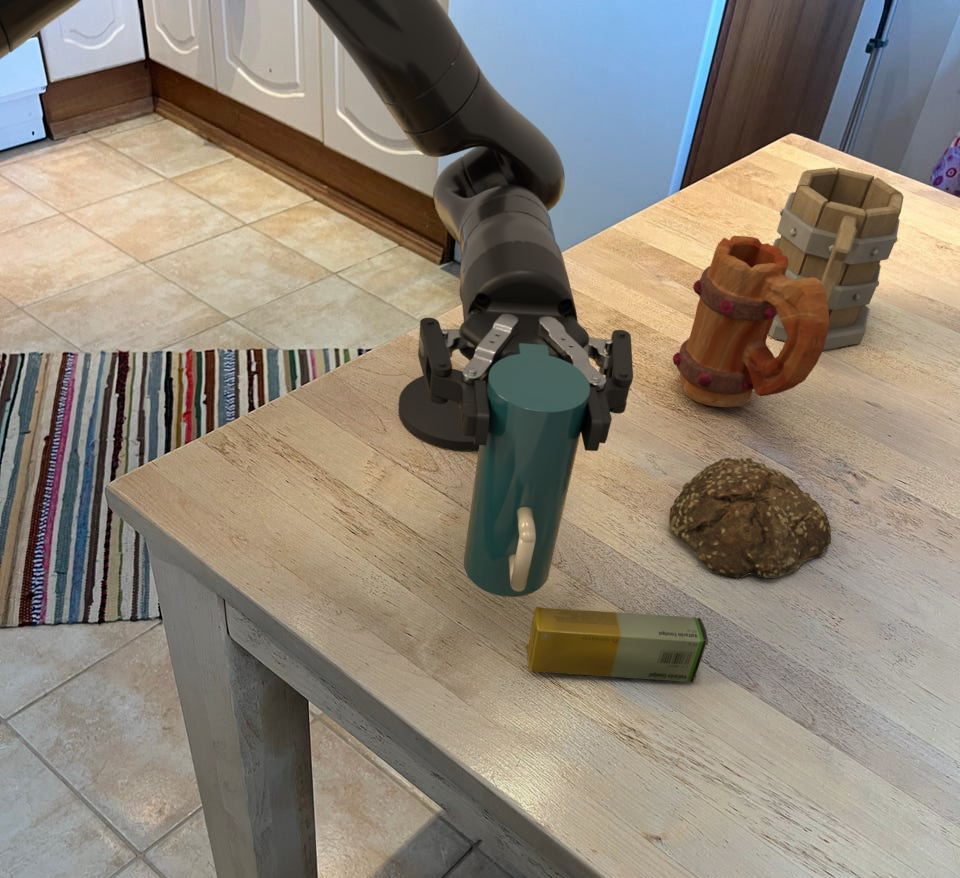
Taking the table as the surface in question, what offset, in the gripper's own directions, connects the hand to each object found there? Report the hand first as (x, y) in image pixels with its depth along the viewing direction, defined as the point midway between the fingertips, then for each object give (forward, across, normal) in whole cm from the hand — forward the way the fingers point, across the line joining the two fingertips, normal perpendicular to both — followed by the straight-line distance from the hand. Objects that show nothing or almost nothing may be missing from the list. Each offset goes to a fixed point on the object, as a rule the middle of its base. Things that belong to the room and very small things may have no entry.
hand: (539, 435), depth 57 cm
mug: (-31, +24, +18) cm, 43 cm away
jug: (-3, 0, +13) cm, 13 cm away
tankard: (-45, +35, +18) cm, 60 cm away
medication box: (+2, +8, +18) cm, 20 cm away
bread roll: (-13, +21, +18) cm, 31 cm away
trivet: (-28, -2, +18) cm, 33 cm away
